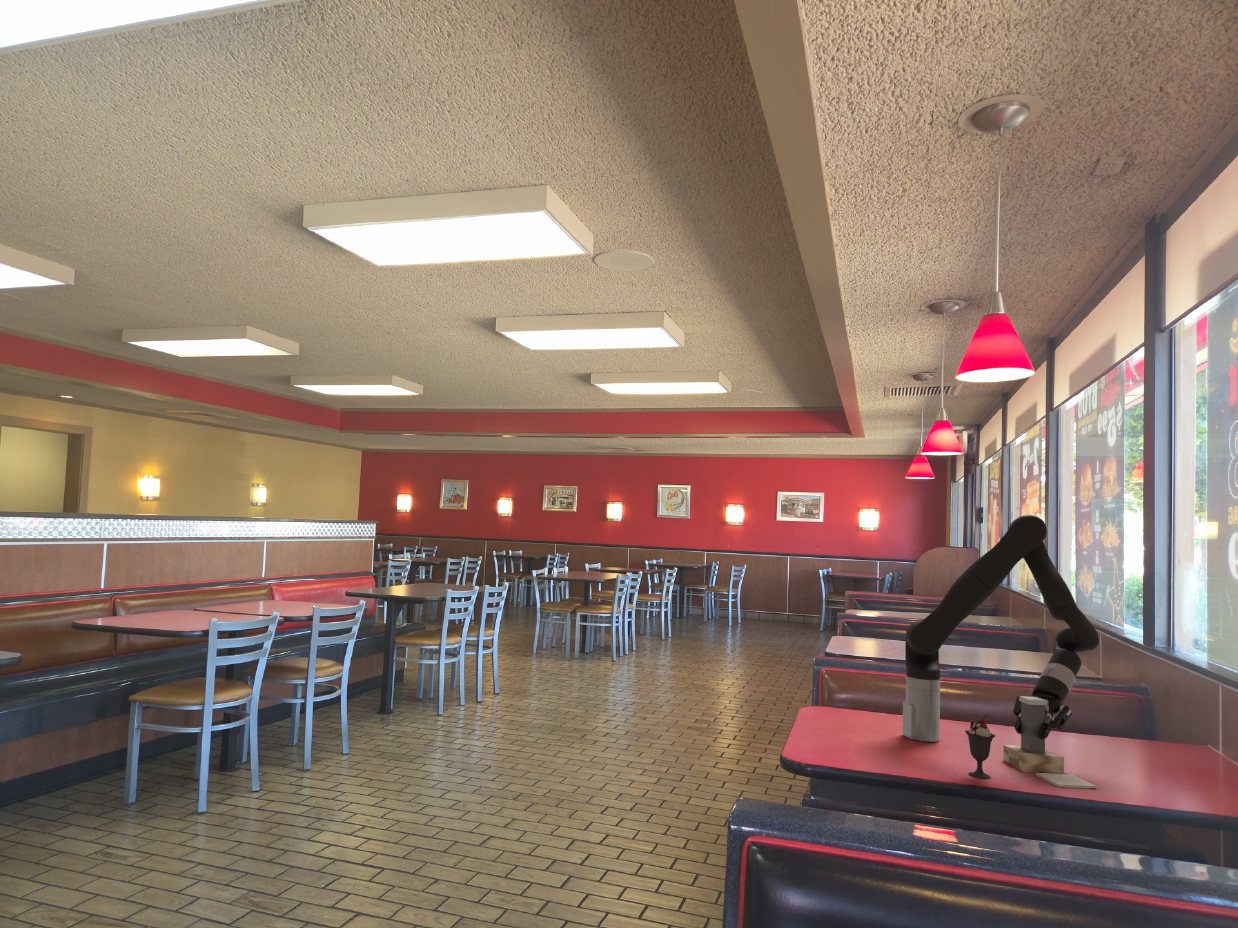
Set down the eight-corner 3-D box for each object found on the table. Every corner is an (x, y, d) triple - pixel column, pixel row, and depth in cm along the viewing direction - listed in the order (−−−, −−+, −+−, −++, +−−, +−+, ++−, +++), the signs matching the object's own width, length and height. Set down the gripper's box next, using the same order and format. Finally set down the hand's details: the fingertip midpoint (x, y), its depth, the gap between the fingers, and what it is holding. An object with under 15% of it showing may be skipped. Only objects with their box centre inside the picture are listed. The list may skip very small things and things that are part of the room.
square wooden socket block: (1024, 771, 193) (1024, 755, 193) (1003, 760, 203) (1003, 744, 203) (1063, 773, 193) (1063, 756, 193) (1040, 761, 203) (1040, 746, 203)
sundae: (993, 781, 183) (993, 717, 184) (962, 776, 186) (963, 712, 188) (996, 775, 188) (997, 712, 190) (966, 769, 192) (967, 708, 193)
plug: (1029, 768, 195) (1029, 699, 197) (1019, 763, 200) (1019, 696, 202) (1047, 769, 195) (1046, 700, 197) (1036, 764, 200) (1036, 696, 202)
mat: (1058, 787, 181) (1058, 784, 181) (1036, 775, 190) (1036, 772, 190) (1095, 788, 181) (1095, 785, 182) (1072, 776, 190) (1072, 774, 190)
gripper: (1022, 670, 210) (996, 718, 202) (1077, 679, 198) (1051, 731, 190) (1033, 688, 212) (1008, 737, 205) (1088, 699, 200) (1063, 751, 193)
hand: (1029, 734), depth 198 cm, fingers closed on plug, 5 cm apart
